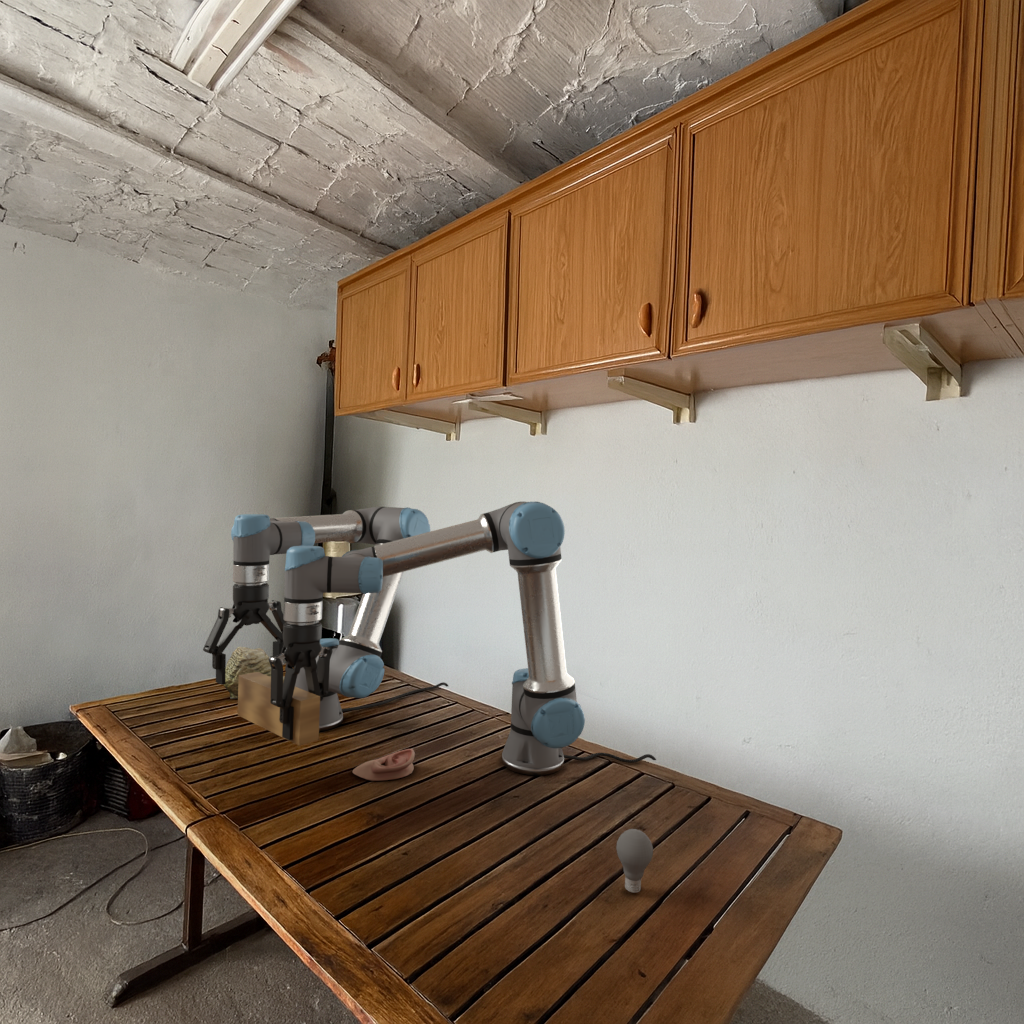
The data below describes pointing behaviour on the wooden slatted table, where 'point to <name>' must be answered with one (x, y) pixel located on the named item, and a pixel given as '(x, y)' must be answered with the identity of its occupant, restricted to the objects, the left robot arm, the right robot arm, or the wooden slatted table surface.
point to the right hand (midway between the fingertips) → (299, 734)
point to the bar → (278, 708)
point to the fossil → (245, 667)
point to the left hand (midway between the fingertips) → (249, 676)
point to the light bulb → (634, 857)
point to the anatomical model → (387, 766)
